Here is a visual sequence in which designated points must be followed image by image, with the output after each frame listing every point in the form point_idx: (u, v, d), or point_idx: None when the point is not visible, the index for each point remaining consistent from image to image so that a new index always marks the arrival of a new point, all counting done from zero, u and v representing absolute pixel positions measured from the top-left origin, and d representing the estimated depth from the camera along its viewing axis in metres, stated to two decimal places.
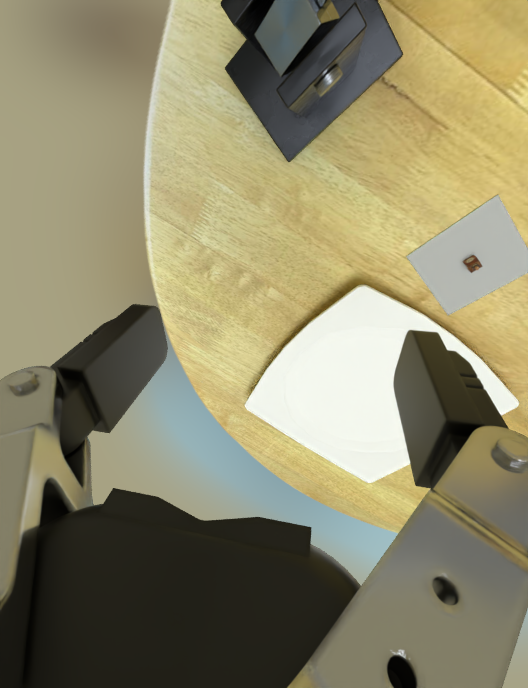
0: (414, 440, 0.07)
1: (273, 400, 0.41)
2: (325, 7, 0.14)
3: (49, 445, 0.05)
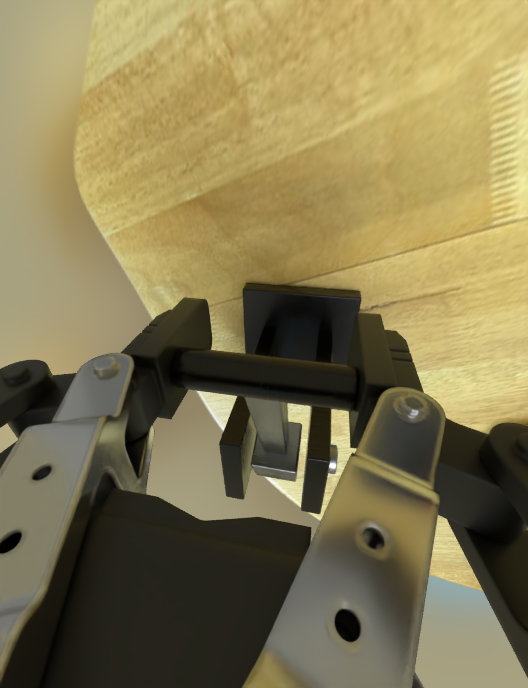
0: None
1: None
2: (288, 444, 0.15)
3: (113, 438, 0.05)
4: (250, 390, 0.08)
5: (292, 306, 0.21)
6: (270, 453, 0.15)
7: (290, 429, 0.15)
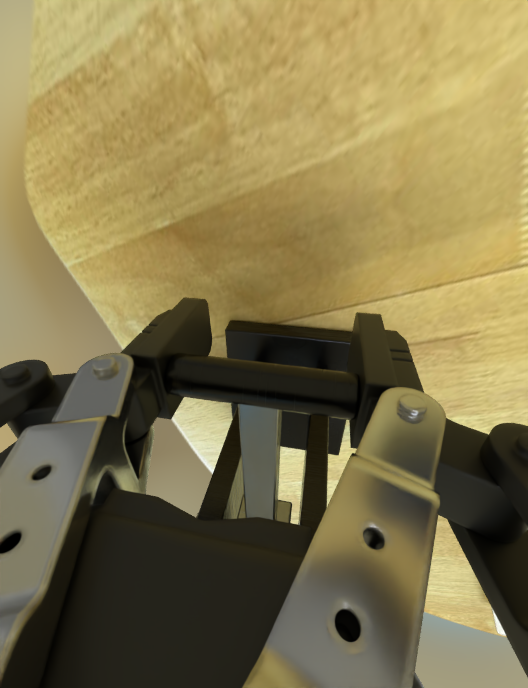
0: None
1: None
2: None
3: (113, 438, 0.05)
4: (247, 390, 0.08)
5: (283, 349, 0.18)
6: None
7: (278, 508, 0.13)
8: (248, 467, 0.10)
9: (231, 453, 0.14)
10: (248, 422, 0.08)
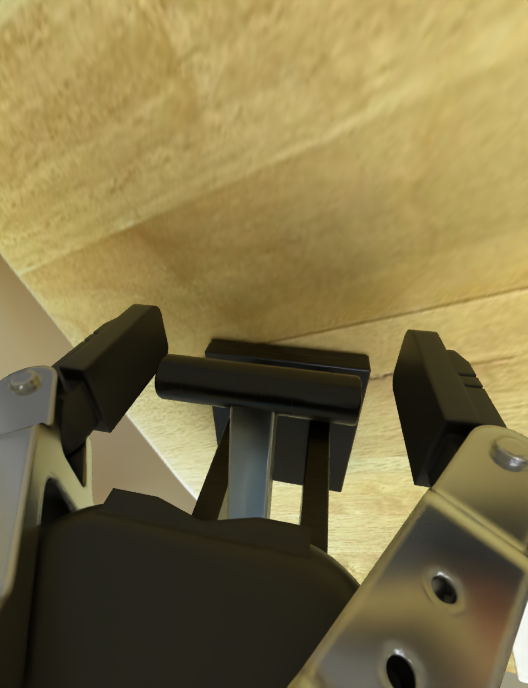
0: (413, 440, 0.07)
1: None
2: None
3: (50, 445, 0.05)
4: (242, 386, 0.07)
5: None
6: None
7: None
8: (235, 499, 0.08)
9: (205, 516, 0.11)
10: (240, 431, 0.08)
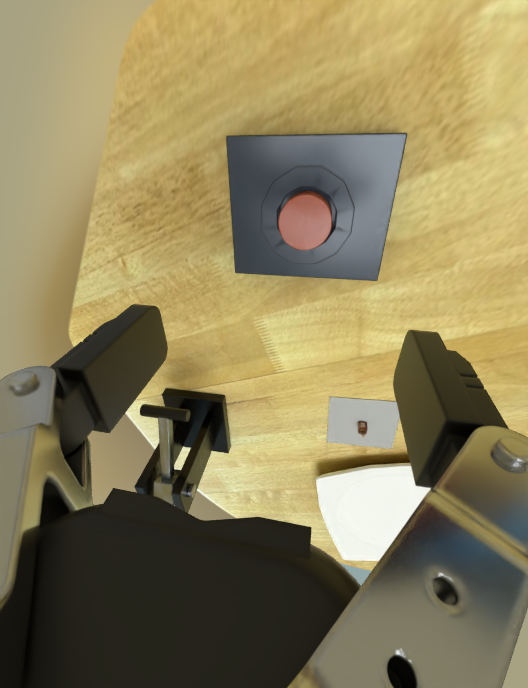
0: (414, 441, 0.07)
1: (356, 545, 0.50)
2: (172, 476, 0.33)
3: (49, 445, 0.05)
4: (160, 412, 0.31)
5: (189, 403, 0.39)
6: (163, 477, 0.33)
7: (176, 471, 0.34)
8: (161, 441, 0.32)
9: (158, 452, 0.35)
10: (160, 423, 0.31)
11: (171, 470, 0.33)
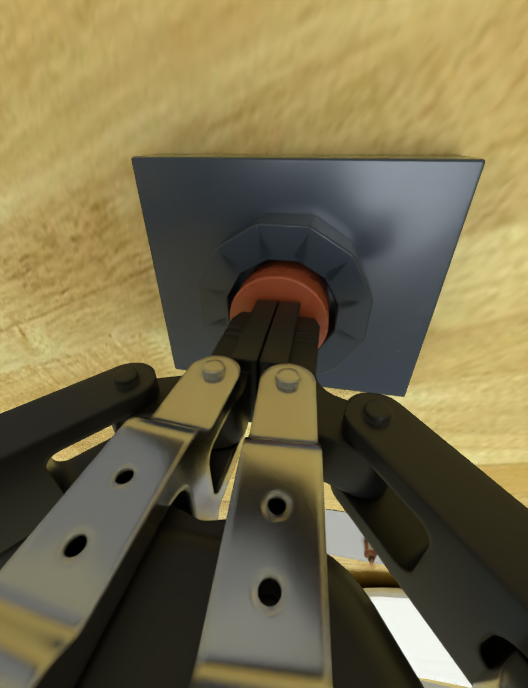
0: None
1: None
2: None
3: (198, 454, 0.05)
4: None
5: None
6: None
7: None
8: None
9: None
10: None
11: None
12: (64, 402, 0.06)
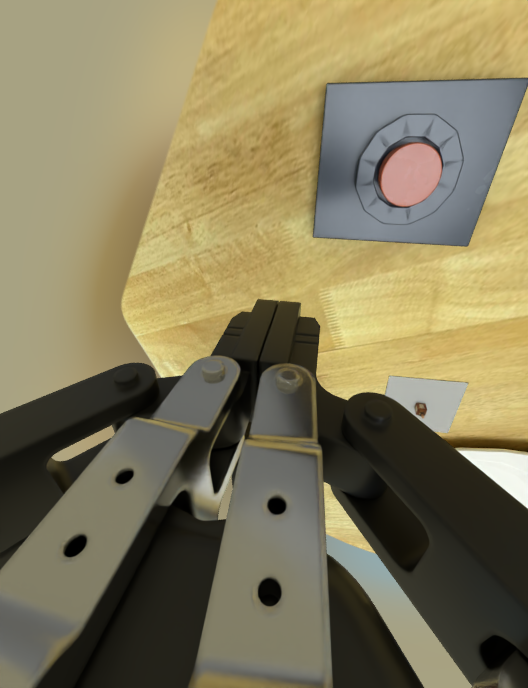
0: None
1: None
2: None
3: (198, 454, 0.05)
4: None
5: None
6: None
7: None
8: None
9: None
10: None
11: None
12: (65, 402, 0.06)
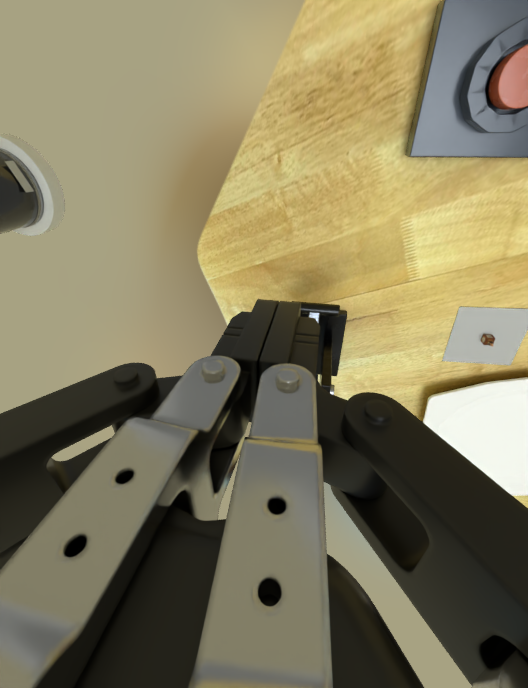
0: None
1: None
2: None
3: (198, 454, 0.05)
4: (312, 307, 0.32)
5: None
6: None
7: None
8: None
9: None
10: None
11: None
12: (64, 402, 0.06)
